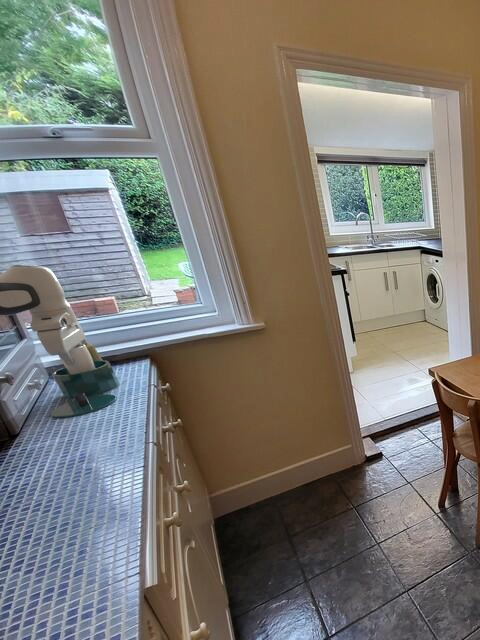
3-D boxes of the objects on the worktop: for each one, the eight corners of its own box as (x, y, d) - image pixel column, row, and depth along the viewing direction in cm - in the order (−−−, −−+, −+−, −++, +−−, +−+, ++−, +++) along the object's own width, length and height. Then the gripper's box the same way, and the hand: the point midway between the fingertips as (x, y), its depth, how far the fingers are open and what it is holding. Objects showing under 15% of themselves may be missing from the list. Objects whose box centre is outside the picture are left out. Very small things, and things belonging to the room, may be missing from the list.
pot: (58, 404, 128) (44, 379, 125) (73, 389, 139) (60, 366, 135) (114, 393, 134) (102, 369, 131) (124, 380, 145) (113, 357, 141)
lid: (44, 424, 116) (35, 410, 114) (62, 405, 127) (55, 391, 125) (110, 410, 122) (103, 396, 120) (122, 393, 134) (116, 380, 132)
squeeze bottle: (111, 371, 153) (88, 325, 146) (109, 377, 147) (86, 329, 140) (81, 377, 148) (56, 330, 141) (79, 384, 143) (53, 334, 135)
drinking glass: (86, 395, 132) (63, 351, 126) (73, 393, 134) (50, 350, 128) (111, 386, 138) (90, 344, 132) (98, 384, 140) (77, 343, 134)
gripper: (54, 313, 133) (73, 353, 139) (27, 327, 117) (50, 372, 122) (80, 310, 136) (98, 349, 141) (57, 323, 120) (79, 367, 125)
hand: (76, 360), depth 132 cm, fingers open, 8 cm apart
